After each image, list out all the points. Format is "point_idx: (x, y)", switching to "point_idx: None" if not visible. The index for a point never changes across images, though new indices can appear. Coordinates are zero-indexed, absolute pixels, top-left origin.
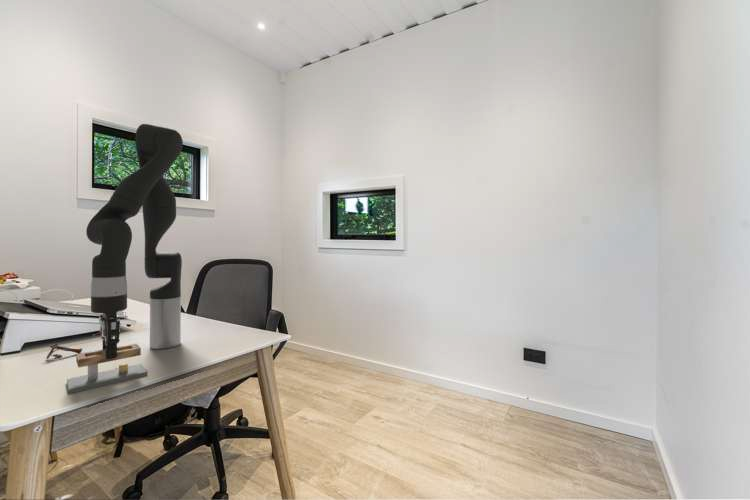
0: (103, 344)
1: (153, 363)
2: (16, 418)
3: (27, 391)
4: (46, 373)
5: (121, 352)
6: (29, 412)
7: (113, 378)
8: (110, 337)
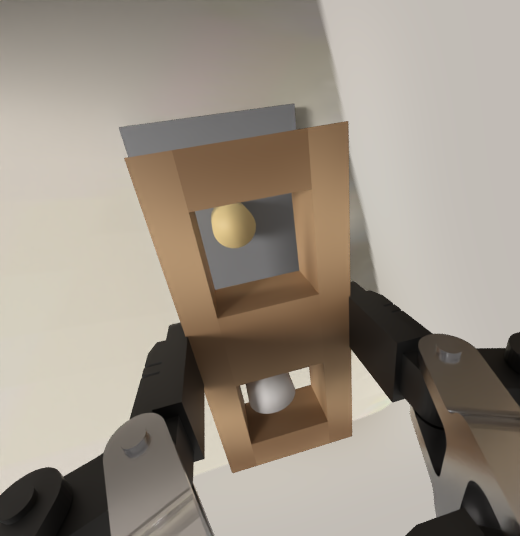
0: (202, 417)
1: (83, 47)
2: (385, 399)
3: (219, 440)
4: (55, 457)
5: (345, 266)
6: (371, 389)
7: (294, 250)
8: (176, 438)
